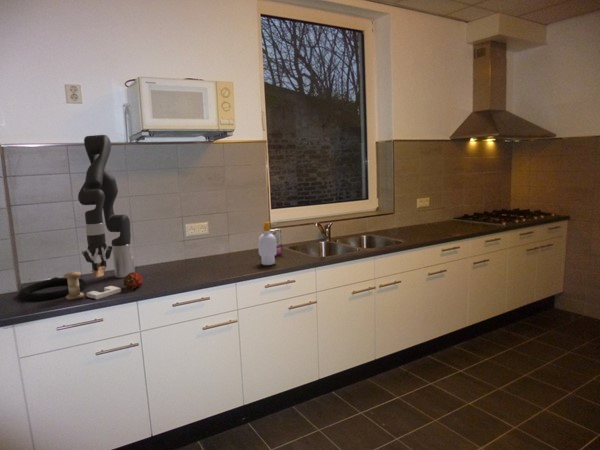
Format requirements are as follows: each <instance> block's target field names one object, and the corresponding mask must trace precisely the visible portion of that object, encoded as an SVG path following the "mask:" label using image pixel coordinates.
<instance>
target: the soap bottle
mask: <svg viewBox="0 0 600 450" xmlns="http://www.w3.org/2000/svg"><path fill="white" fill-rule="evenodd" d="M271 222H272V221H267V222H265V221H264V223H263V224H264V225H262V226H263V230H262V231H264V234H263V233H262V234H261V235H260V236H259V237H258V241H257V244H258V255H259V256H260V257H261V259H260V260H261V264H262V265H263V266H271V265H275V263H276V261H275V260H276V259H275V257H276V256H274V255H276V254H277V249H276V238H275V236H274V235H273V234H270V230H271V228H270V227H271V226H270V224H271Z"/></svg>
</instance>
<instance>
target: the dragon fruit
mask: <svg viewBox="0 0 600 450" xmlns="http://www.w3.org/2000/svg"><path fill="white" fill-rule="evenodd" d="M143 280H144V279H143V276H142V275H141V274H140V273H138V272H137V271H135V272H132V273H129V274H128V275H127V276H125V277H123V286H124V287H127V288H128V289H132V290H135V289H136V288H140V287H142V282H143Z"/></svg>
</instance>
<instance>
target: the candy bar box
mask: <svg viewBox="0 0 600 450" xmlns="http://www.w3.org/2000/svg"><path fill="white" fill-rule="evenodd" d="M262 234H264V230H262ZM270 234H273V235H274V236H275V238H276V249H277V254H276V255H274V256H275V257H277V256H281V255H283V245H282V229H281V228H273V229H270Z"/></svg>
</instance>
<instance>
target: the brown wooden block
mask: <svg viewBox="0 0 600 450" xmlns="http://www.w3.org/2000/svg"><path fill="white" fill-rule="evenodd" d="M96 263H97V271H94V270H93V269H92V268H91V273H92V274H93V276H94V277H96V278H100V277H104V274H105V271H106V269H105V268H107V266H106V267H105V266H104V265H103V264H102V263H101V261H100V262H99V261H98V262H96Z"/></svg>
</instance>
